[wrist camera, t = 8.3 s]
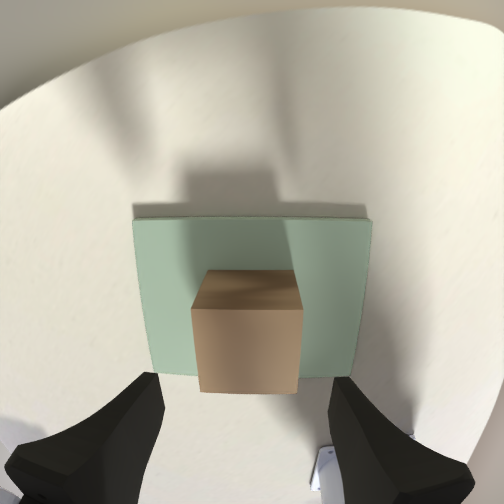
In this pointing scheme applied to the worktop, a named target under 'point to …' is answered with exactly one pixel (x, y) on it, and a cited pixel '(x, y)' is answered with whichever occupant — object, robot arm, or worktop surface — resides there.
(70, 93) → the worktop surface
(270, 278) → the walnut block
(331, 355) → the sage board
